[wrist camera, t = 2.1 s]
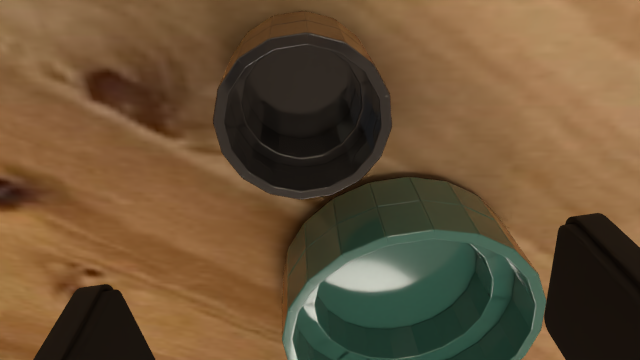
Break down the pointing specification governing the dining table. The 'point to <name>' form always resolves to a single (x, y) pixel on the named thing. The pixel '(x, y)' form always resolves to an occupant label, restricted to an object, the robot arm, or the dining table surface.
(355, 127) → the charcoal bowl
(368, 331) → the green bowl
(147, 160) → the dining table surface
